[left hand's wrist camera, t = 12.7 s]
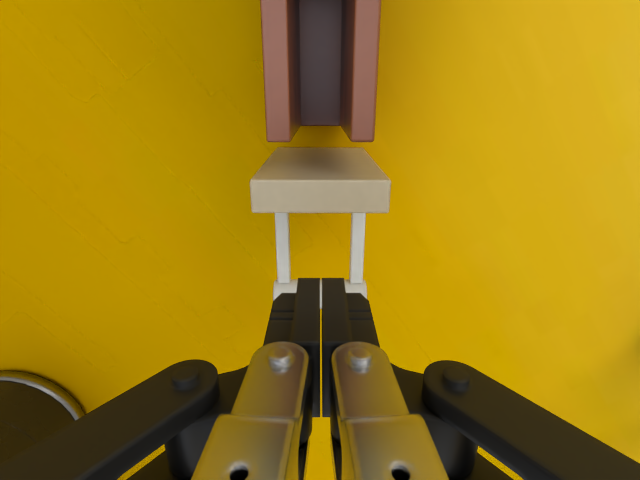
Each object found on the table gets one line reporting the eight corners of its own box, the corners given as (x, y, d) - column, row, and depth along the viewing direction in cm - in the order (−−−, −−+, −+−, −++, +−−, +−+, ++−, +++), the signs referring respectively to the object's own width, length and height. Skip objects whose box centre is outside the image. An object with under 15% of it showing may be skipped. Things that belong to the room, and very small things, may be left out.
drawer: (358, 264, 24) (379, 355, 15) (281, 264, 24) (260, 354, 15) (379, -244, 16) (447, -630, 7) (262, -244, 16) (197, -630, 7)
